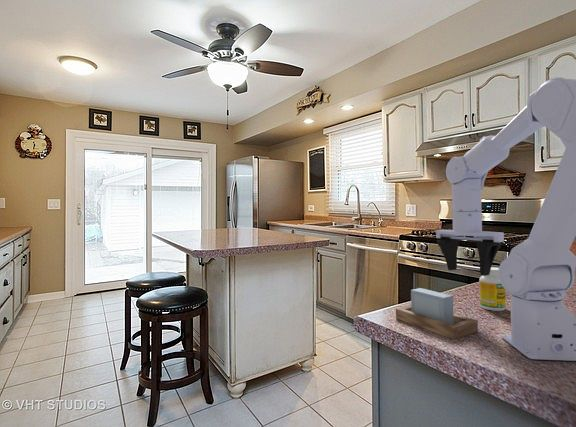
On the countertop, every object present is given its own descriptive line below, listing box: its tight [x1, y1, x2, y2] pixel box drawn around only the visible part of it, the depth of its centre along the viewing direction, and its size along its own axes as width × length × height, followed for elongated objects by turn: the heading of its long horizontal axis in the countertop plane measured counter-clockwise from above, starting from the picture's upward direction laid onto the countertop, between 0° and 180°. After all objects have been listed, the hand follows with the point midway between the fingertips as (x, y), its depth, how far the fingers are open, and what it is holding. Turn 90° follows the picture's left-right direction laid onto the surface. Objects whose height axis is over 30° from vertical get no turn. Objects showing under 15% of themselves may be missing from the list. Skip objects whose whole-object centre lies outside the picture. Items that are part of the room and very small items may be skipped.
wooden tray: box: [395, 305, 479, 340], centre depth 69 cm, size 14×7×2 cm, turn 28°
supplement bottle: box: [478, 266, 507, 312], centre depth 79 cm, size 5×5×10 cm
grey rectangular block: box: [410, 287, 455, 324], centre depth 69 cm, size 8×3×6 cm, turn 28°
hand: (467, 272), depth 73 cm, fingers open, 7 cm apart
